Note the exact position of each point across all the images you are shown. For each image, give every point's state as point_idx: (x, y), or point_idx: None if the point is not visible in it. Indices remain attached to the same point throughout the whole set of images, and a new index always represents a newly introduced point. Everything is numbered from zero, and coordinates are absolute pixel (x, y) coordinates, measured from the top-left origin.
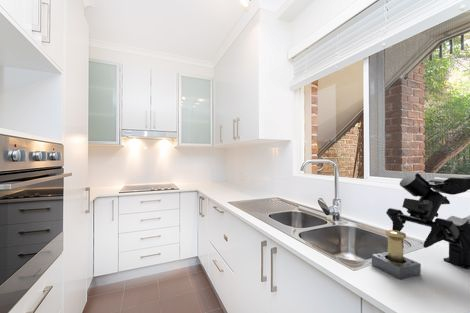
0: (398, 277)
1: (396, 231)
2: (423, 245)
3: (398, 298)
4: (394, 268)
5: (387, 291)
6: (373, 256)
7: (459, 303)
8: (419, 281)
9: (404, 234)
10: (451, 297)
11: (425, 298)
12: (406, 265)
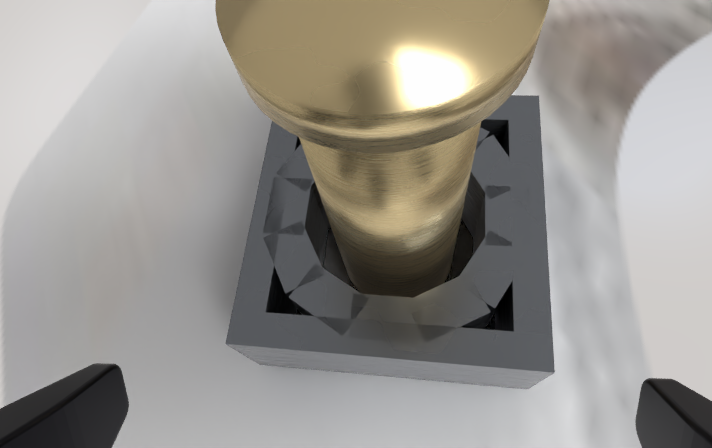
0: None
1: (413, 43)
2: (112, 366)
3: None
4: None
5: None
6: (518, 102)
7: (22, 225)
8: (230, 262)
9: (233, 18)
10: (58, 250)
11: (144, 110)
12: (274, 178)
